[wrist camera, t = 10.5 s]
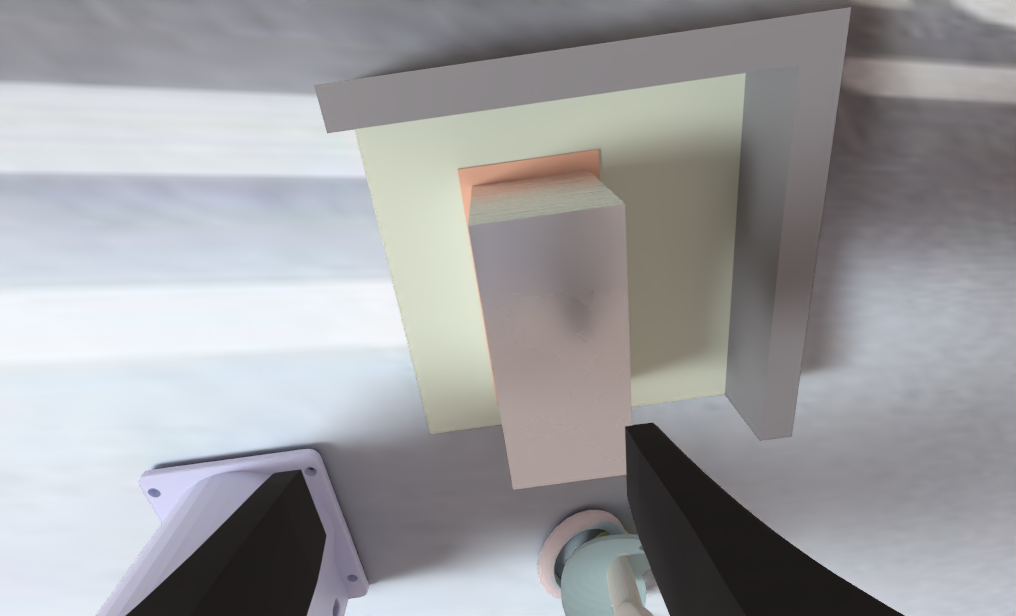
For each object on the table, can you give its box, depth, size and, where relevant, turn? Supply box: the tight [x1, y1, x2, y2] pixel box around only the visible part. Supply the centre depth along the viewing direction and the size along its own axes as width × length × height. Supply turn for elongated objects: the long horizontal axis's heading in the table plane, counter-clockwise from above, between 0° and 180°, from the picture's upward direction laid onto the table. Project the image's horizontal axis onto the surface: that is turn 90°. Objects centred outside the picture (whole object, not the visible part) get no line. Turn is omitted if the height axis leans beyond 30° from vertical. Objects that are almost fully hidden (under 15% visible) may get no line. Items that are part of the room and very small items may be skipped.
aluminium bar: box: [468, 169, 632, 490], centre depth 17 cm, size 9×4×5 cm, turn 7°
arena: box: [314, 7, 851, 441], centre depth 18 cm, size 14×14×3 cm
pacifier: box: [538, 510, 653, 616], centre depth 23 cm, size 7×6×6 cm
